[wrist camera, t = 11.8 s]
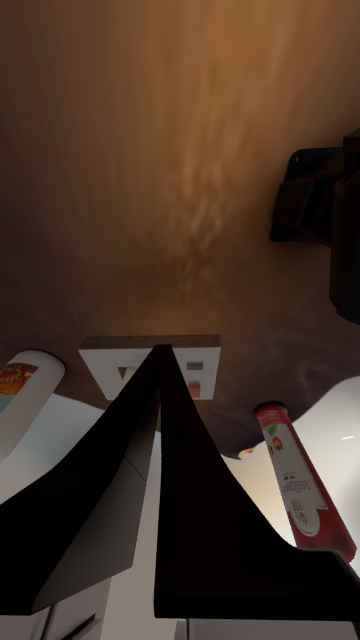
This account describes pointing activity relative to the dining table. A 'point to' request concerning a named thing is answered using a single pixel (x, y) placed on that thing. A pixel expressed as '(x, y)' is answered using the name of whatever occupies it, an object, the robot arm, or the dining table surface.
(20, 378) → the milk bottle
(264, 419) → the liquor
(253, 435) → the dining table surface
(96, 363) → the switch plate
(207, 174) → the dining table surface
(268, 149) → the dining table surface
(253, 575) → the robot arm
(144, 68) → the dining table surface
